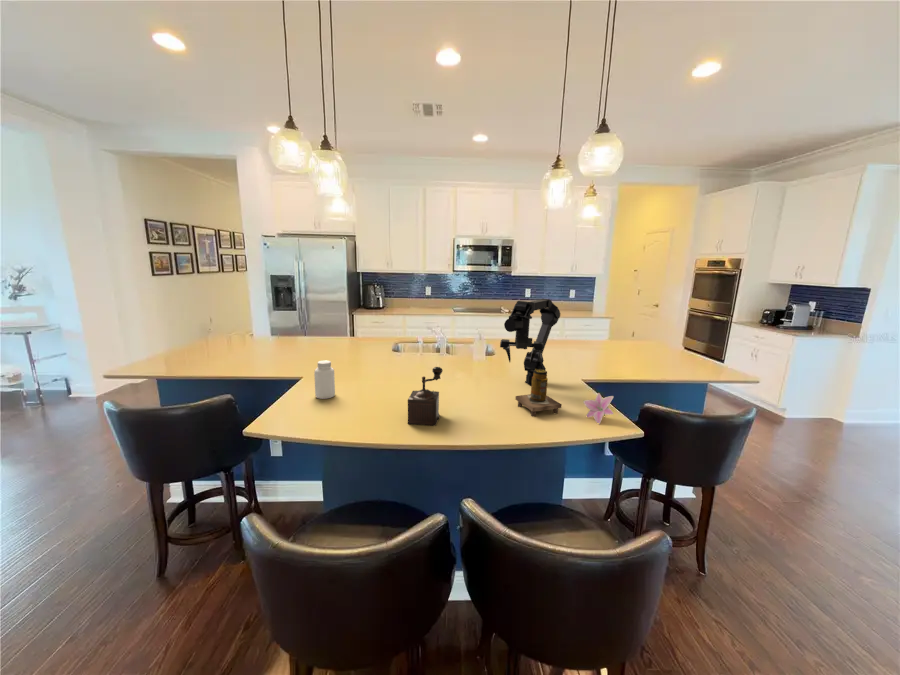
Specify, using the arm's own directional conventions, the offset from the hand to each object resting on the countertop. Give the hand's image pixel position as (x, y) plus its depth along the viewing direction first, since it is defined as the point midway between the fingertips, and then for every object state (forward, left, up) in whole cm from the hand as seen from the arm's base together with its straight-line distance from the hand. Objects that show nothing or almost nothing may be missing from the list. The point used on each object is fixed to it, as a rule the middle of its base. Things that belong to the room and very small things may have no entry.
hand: (520, 363), depth 168 cm
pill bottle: (+84, -16, -13) cm, 87 cm away
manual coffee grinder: (+49, +16, -13) cm, 53 cm away
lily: (-14, +37, -13) cm, 41 cm away
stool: (+4, +22, -13) cm, 26 cm away
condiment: (+4, +22, -9) cm, 24 cm away
